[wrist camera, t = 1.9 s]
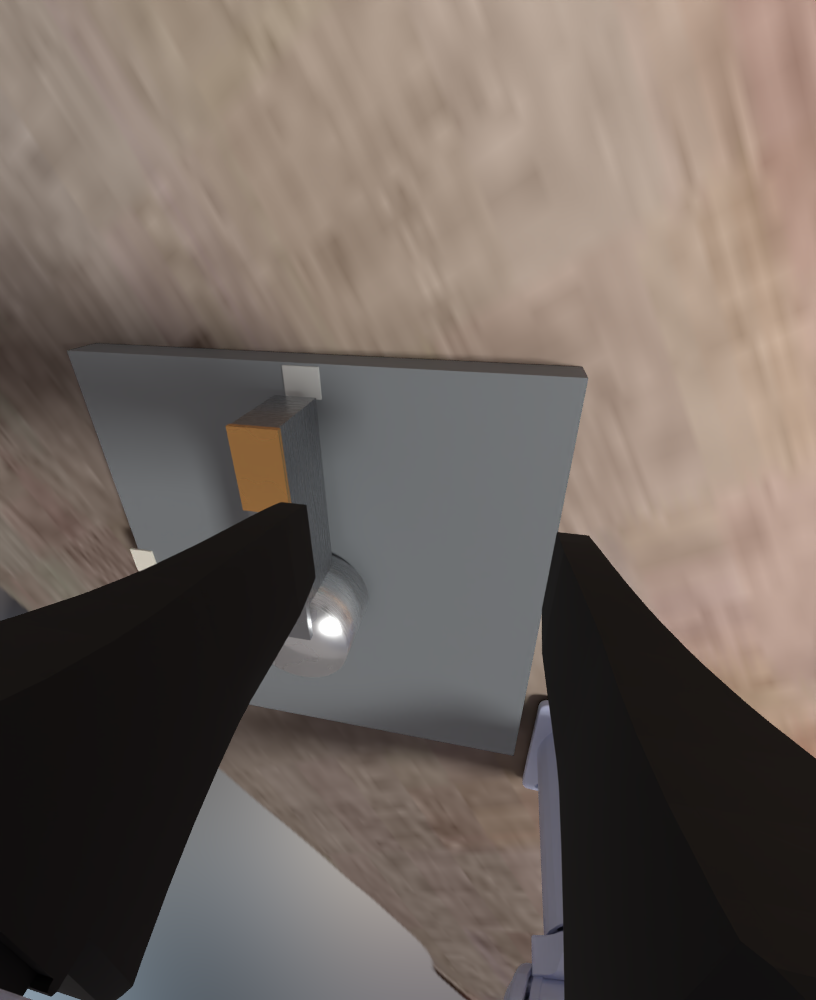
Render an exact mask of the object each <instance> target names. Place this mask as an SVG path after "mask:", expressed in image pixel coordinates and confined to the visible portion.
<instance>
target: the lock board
mask: <svg viewBox="0 0 816 1000" xmlns="http://www.w3.org/2000/svg"><path fill="white" fill-rule="evenodd" d="M67 353H68V355H69V358H70V361H71V364H72V367H73V369H74V372H75V375H76V378H77V380H78V383H79V386H80V389H81V391H82V394H83V397H84V400H85V403H86V405H87V408H88V411H89V414H90V416H91V419H92V422H93V425H94V427H95V430H96V433H97V436H98V439H99V441H100V444H101V447H102V450H103V452H104V455H105V458H106V461H107V464H108V466H109V469H110V472H111V475H112V477H113V480H114V483H115V486H116V488H117V491H118V494H119V497H120V500H121V502H122V505H123V508H124V511H125V513H126V516H127V519H128V522H129V524H130V527H131V530H132V533H133V536H134V538H135V541H136V544H137V547H138V549H136V548H131V549H130V550H131V553H132V556H133V558H134V561H135V564H136V566H137V569H138V571H141V570H144V569H146V568H148V567H150V566H152V565H154V564H157V563H159V562H161V561H163V560H165V559H167V558H169V557H171V556H173V555H175V554H177V553H180V552H182V551H184V550H186V549H188V548H190V547H192V546H194V545H196V544H198V543H200V542H202V541H204V540H206V539H208V538H210V537H212V536H214V535H216V534H218V533H220V532H221V531H223V530H225V529H227V528H229V527H231V526H233V525H235V524H237V523H239V522H241V521H242V520H244V519H246V518H248V517H249V513H248V511H245V510H243V508H242V503H241V498H240V493H239V489H238V484H237V479H236V474H235V469H234V465H233V460H232V455H231V450H230V446H229V441H228V436H227V431H226V425H228V424H231V423H232V422H234V421H235V420H237V419H238V418H240V417H242V416H243V415H245V414H246V413H248V412H249V411H251V410H252V409H254V408H255V407H257V406H258V405H260V404H261V403H263V402H264V401H266V400H267V399H269V398H270V397H272V396H273V395H281V396H296V397H312V398H316V405H317V415H318V425H319V434H320V444H321V454H322V464H323V474H324V484H325V493H326V503H327V513H328V523H329V533H330V542H331V552H332V556H335V557H337V558H339V559H341V560H343V561H345V562H346V563H348V564H349V565H350V566H351V567H353V568H354V569H355V570H356V571H357V572H358V573H359V575H360V576H361V577H362V579H363V580H364V582H365V584H366V587H367V590H368V596H369V599H368V605H367V608H366V610H365V613H364V615H363V618H362V620H361V623H360V625H359V628H358V630H357V633H356V635H355V638H354V640H353V643H352V645H351V648H350V650H349V653H348V655H347V658H346V660H345V662H344V664H343V666H342V667H341V668H340V669H339V670H337V671H336V672H335V673H332V674H330V675H327V676H323V677H303V676H298V675H294V674H291V673H288V672H286V671H284V670H282V669H280V668H278V667H276V666H274V665H273V664H272V665H271V667H270V669H269V670H268V672H267V674H266V676H265V677H264V679H263V681H262V682H261V684H260V686H259V688H258V689H257V691H256V693H255V694H254V696H253V698H252V699H251V701H250V703H249V705H254V706H259V707H265V708H270V709H275V710H280V711H285V712H290V713H296V714H301V715H306V716H311V717H316V718H321V719H326V720H332V721H337V722H342V723H347V724H352V725H357V726H362V727H368V728H373V729H378V730H383V731H388V732H393V733H399V734H404V735H409V736H414V737H419V738H424V739H429V740H435V741H440V742H445V743H450V744H455V745H460V746H465V747H471V748H476V749H481V750H486V751H491V752H496V753H502V754H507V755H512V756H514V751H515V746H516V741H517V736H518V730H519V725H520V720H521V715H522V710H523V705H524V700H525V695H526V690H527V685H528V680H529V675H530V670H531V665H532V660H533V655H534V650H535V645H536V640H537V635H538V629H539V624H540V619H541V614H542V605H543V600H544V595H545V590H546V585H547V580H548V575H549V570H550V565H551V560H552V555H553V550H554V544H555V539H556V534H557V532H558V528H559V523H560V518H561V513H562V508H563V503H564V498H565V493H566V488H567V483H568V478H569V473H570V468H571V463H572V458H573V453H574V448H575V443H576V437H577V432H578V427H579V422H580V417H581V412H582V407H583V402H584V397H585V392H586V387H587V382H588V377H587V375H586V373H585V371H584V369H583V367H574V366H554V365H533V364H513V363H492V362H472V361H451V360H430V359H410V358H389V357H369V356H348V355H328V354H307V353H287V352H266V351H246V350H225V349H205V348H184V347H163V346H143V345H122V344H102V343H95V344H91V345H87V346H83V347H79V348H75V349H71V350H67Z"/></svg>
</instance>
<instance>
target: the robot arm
mask: <svg viewBox="0 0 816 1000" xmlns="http://www.w3.org/2000/svg"><path fill="white" fill-rule="evenodd" d="M315 578H316V575H315V567H314V560H313V552H312V544H311V536H310V528H309V520H308V512H307V505H304V504H295V503H286V502H280V503H277V504H275V505H272V506H270V507H268V508H266V509H264V510H262V511H260V512H258V513H256V514H254V515H252V516H250V517H248V518H246V519H244V520H242V521H241V522H239V523H237V524H235V525H233V526H231V527H229V528H227V529H225V530H223V531H221V532H220V533H218V534H216V535H214V536H212V537H210V538H208V539H206V540H204V541H202V542H200V543H198V544H196V545H194V546H192V547H190V548H188V549H186V550H184V551H182V552H180V553H177V554H175V555H173V556H171V557H169V558H167V559H165V560H163V561H161V562H159V563H157V564H154V565H152V566H150V567H148V568H146V569H144V570H141V571H139V572H137V573H134V574H132V575H130V576H127V577H125V578H122V579H120V580H117V581H115V582H112V583H110V584H107V585H105V586H102V587H100V588H97V589H94V590H92V591H89V592H87V593H84V594H81V595H78V596H76V597H72V598H69V599H66V600H63V601H60V602H57V603H54V604H51V605H48V606H45V607H42V608H39V609H36V610H33V611H30V612H27V613H24V614H21V615H18V616H15V617H12V618H8V619H5V620H2V621H0V1000H31V999H28V998H25V997H23V995H24V993H25V992H26V990H27V989H30V990H33V991H36V992H39V993H42V994H45V995H48V996H53V995H54V994H55V993H56V992H60V993H63V994H66V995H69V996H72V997H75V998H78V999H81V1000H117V999H118V998H119V997H121V996H122V995H123V994H124V993H126V992H127V991H128V990H129V989H130V988H131V987H132V986H133V984H134V981H135V978H136V976H137V973H138V970H139V967H140V964H141V961H142V958H143V956H144V953H145V950H146V947H147V945H148V942H149V939H150V937H151V934H152V931H153V929H154V926H155V923H156V920H157V917H158V915H159V912H160V910H161V907H162V904H163V901H164V899H165V896H166V893H167V891H168V888H169V885H170V883H171V880H172V878H173V875H174V873H175V870H176V868H177V865H178V863H179V860H180V858H181V855H182V853H183V850H184V848H185V845H186V843H187V840H188V838H189V835H190V833H191V830H192V827H193V825H194V823H195V820H196V818H197V816H198V814H199V811H200V809H201V807H202V804H203V802H204V799H205V797H206V795H207V793H208V790H209V788H210V786H211V783H212V781H213V779H214V776H215V774H216V772H217V769H218V767H219V765H220V763H221V761H222V759H223V756H224V754H225V752H226V750H227V748H228V745H229V743H230V741H231V739H232V737H233V735H234V732H235V730H236V728H237V726H238V724H239V722H240V720H241V718H242V716H243V714H244V712H245V711H246V709H247V707H248V705H249V703H250V701H251V699H252V698H253V696H254V694H255V693H256V691H257V689H258V688H259V686H260V684H261V682H262V681H263V679H264V677H265V676H266V674H267V672H268V670H269V669H270V667H271V665H272V664H273V662H274V660H275V659H276V657H277V655H278V653H279V652H280V650H281V648H282V647H283V645H284V643H285V641H286V640H287V638H288V636H289V634H290V633H291V631H292V629H293V627H294V626H295V624H296V622H297V620H298V618H299V617H300V615H301V612H302V610H303V608H304V605H305V603H306V601H307V598H308V596H309V593H310V591H311V588H312V586H313V583H314V581H315ZM542 655H543V663H544V671H545V679H546V687H547V694H548V700H544V701H542V702H540V704H539V706H538V711H537V715H536V720H535V724H534V729H533V733H532V738H531V742H530V747H529V751H528V755H527V760H526V764H525V769H524V773H523V785H524V786H525V787H526V788H528V789H532V790H537V791H538V796H539V822H540V847H541V872H542V898H543V923H544V935H533V936H532V964H531V963H523V964H521V965H520V966H519V967H518V968H517V970H516V972H515V974H514V976H513V979H512V981H511V982H510V984H509V986H508V988H507V990H506V993H505V996H504V1000H816V758H814V757H813V756H812V755H810V754H809V753H808V752H807V751H805V750H804V749H803V748H802V747H800V746H799V745H798V744H796V743H795V742H794V741H793V740H791V739H790V738H789V737H788V736H786V735H785V734H784V733H782V732H781V731H780V730H779V729H777V728H776V727H775V726H774V725H772V724H771V723H770V722H769V721H767V720H766V719H765V718H764V717H763V716H761V715H760V714H759V713H758V712H757V711H755V710H754V709H753V708H752V707H751V706H749V705H748V704H747V703H746V702H745V701H743V700H742V699H741V698H740V697H739V696H738V695H737V694H736V693H734V692H733V691H732V690H731V689H730V688H729V687H728V686H727V685H725V684H724V683H723V682H722V681H721V680H720V679H719V678H718V677H716V676H715V675H714V674H713V673H712V672H711V671H710V670H709V669H708V668H706V667H705V666H704V665H703V664H702V663H701V662H700V661H699V660H698V659H697V658H696V657H695V656H694V655H693V654H692V653H691V652H690V651H689V650H688V649H687V648H686V647H685V646H684V645H683V644H682V643H681V642H680V641H679V640H678V639H677V638H676V637H675V636H674V635H673V634H672V633H671V632H670V631H669V630H668V629H667V628H666V627H665V626H664V625H663V624H662V623H661V622H660V621H659V620H658V618H657V617H656V616H655V615H654V614H653V613H652V612H651V611H650V610H649V609H648V607H647V606H646V605H645V604H644V603H643V602H642V601H641V599H640V598H639V597H638V596H637V595H636V594H635V592H634V591H633V590H632V589H631V588H630V587H629V585H628V584H627V583H626V582H625V580H624V579H623V578H622V577H621V576H620V574H619V573H618V572H617V571H616V569H615V568H614V567H613V566H612V564H611V563H610V562H609V560H608V559H607V558H606V557H605V555H604V554H603V553H602V552H601V550H600V549H599V548H598V547H597V545H596V544H595V543H594V542H593V540H592V539H591V538H590V537H589V536H587V535H578V534H569V533H560V532H557V534H556V539H555V544H554V550H553V555H552V560H551V565H550V570H549V575H548V580H547V585H546V590H545V595H544V600H543V605H542Z"/></svg>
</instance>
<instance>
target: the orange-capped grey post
mask: <svg viewBox="0 0 816 1000" xmlns="http://www.w3.org/2000/svg"><path fill="white" fill-rule="evenodd" d="M226 431H227V436H228V441H229V446H230V450H231V455H232V460H233V465H234V469H235V474H236V479H237V484H238V489H239V493H240V498H241V503H242V508H243V510H245V511H248V513H249V517H250V516H252V515H254V514H256V513H258V512H260V511H262V510H264V509H266V508H268V507H270V506H272V505H275V504H277V503H280V502H286V503H295V504H304V505H307V512H308V520H309V528H310V536H311V544H312V552H313V560H314V567H315V575H316V578H315V581H314V583H313V586H312V588H311V591H310V593H309V596H308V598H307V601H306V603H305V605H304V608H303V610H302V612H301V615H300V617H299V618H298V620H297V622H296V624H295V626H294V627H293V629H292V631H291V633H290V634H289V636H288V638H287V640H286V641H285V643H284V645H283V647H282V648H281V650H280V652H279V653H278V655H277V657H276V659H275V660H274V662H273V665H274V666H276V667H278V668H280V669H282V670H284V671H286V672H288V673H291V674H294V675H298V676H303V677H323V676H327V675H330V674H332V673H335V672H336V671H337V670H339V669H340V668H341V667H342V666H343V664H344V662H345V660H346V658H347V655H348V653H349V650H350V648H351V645H352V643H353V640H354V638H355V635H356V633H357V630H358V628H359V625H360V623H361V620H362V618H363V615H364V613H365V610H366V608H367V605H368V599H369V596H368V590H367V587H366V584H365V582H364V580H363V579H362V577H361V576H360V575H359V573H358V572H357V571H356V570H355V569H354V568H353V567H351V566H350V565H349V564H348V563H346V562H345V561H343V560H341V559H339V558H337V557H335V556H332V552H331V542H330V533H329V523H328V513H327V503H326V493H325V484H324V474H323V464H322V454H321V444H320V434H319V425H318V415H317V405H316V398H312V397H296V396H281V395H273V396H272V397H270V398H269V399H267V400H266V401H264V402H263V403H261V404H260V405H258V406H257V407H255V408H254V409H252V410H251V411H249V412H248V413H246V414H245V415H243V416H242V417H240V418H238V419H237V420H235V421H234V422H232V423H231V424H228V425H226Z"/></svg>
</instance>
